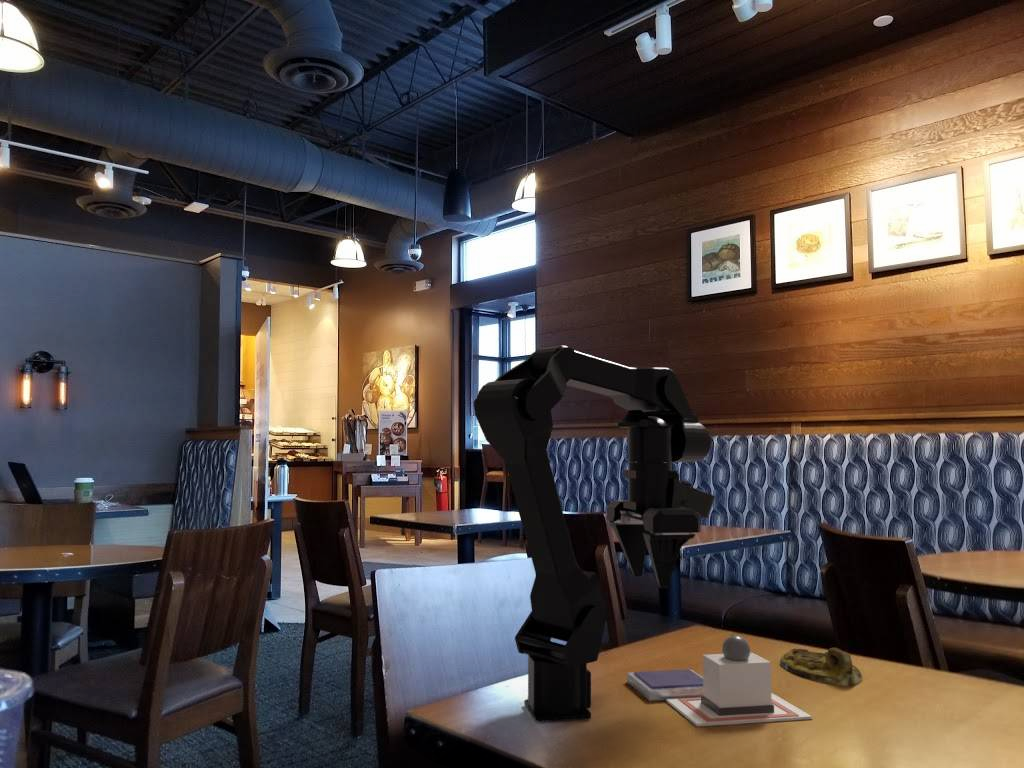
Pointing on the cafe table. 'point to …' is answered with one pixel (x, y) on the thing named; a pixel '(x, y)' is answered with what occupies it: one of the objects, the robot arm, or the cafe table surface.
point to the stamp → (736, 680)
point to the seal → (822, 666)
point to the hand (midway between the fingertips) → (650, 581)
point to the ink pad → (667, 684)
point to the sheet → (707, 717)
